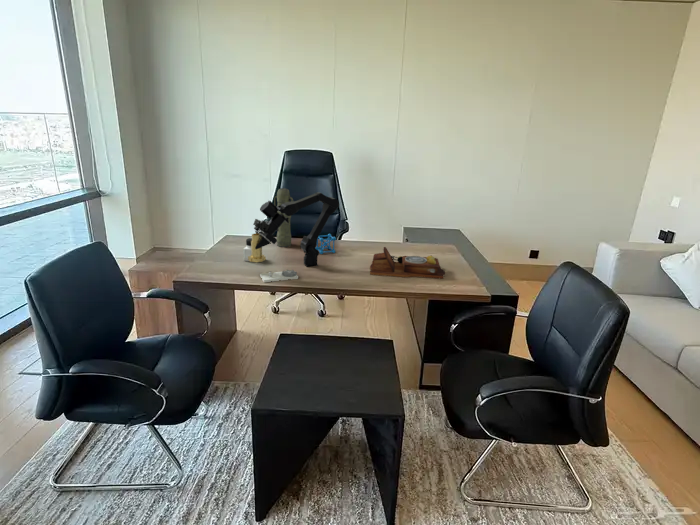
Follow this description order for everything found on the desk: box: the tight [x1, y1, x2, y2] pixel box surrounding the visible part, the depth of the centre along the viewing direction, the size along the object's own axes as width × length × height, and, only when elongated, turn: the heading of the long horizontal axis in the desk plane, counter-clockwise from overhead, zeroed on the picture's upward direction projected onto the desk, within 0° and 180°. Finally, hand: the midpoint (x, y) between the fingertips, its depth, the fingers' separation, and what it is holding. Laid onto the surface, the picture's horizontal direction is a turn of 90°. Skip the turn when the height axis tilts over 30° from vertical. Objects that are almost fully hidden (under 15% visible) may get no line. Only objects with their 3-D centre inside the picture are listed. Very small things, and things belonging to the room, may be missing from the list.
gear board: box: [259, 269, 299, 283], centre depth 205 cm, size 17×9×4 cm, turn 113°
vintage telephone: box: [369, 246, 446, 280], centre depth 223 cm, size 24×12×40 cm
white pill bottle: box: [243, 237, 252, 262], centre depth 228 cm, size 7×7×12 cm
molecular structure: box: [316, 233, 337, 255], centre depth 248 cm, size 10×10×10 cm
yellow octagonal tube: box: [248, 232, 267, 263], centre depth 207 cm, size 8×8×13 cm
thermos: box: [273, 187, 294, 248], centre depth 254 cm, size 9×12×35 cm
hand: (253, 247), depth 206 cm, fingers closed on yellow octagonal tube, 5 cm apart
